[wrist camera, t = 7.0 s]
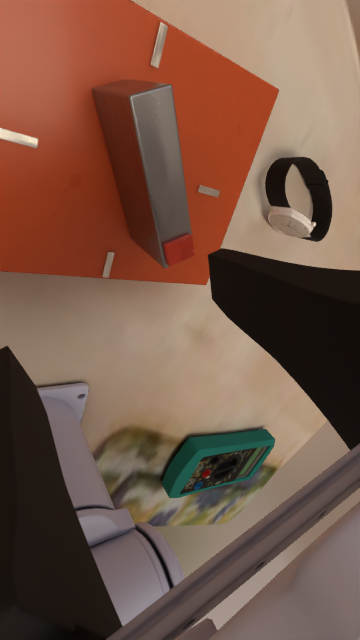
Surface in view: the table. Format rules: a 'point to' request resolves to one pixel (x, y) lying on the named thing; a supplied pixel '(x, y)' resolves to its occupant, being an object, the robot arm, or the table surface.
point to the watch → (291, 219)
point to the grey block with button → (147, 165)
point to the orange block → (89, 143)
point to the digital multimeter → (216, 461)
